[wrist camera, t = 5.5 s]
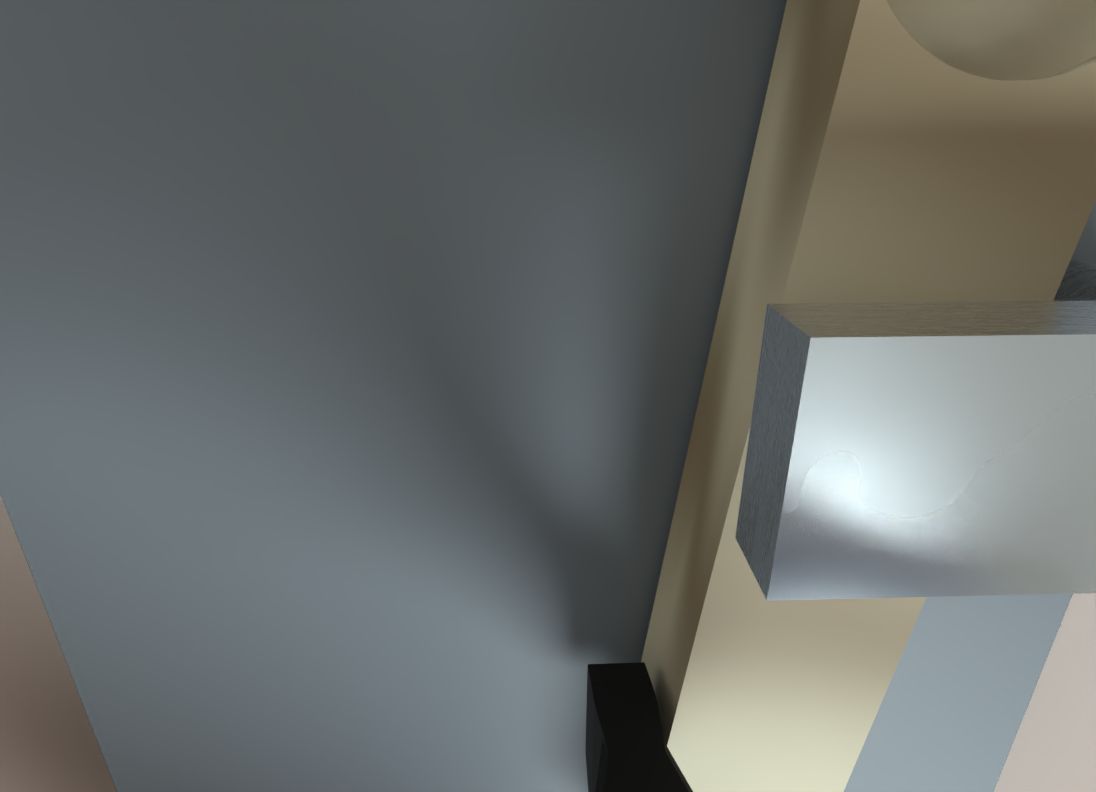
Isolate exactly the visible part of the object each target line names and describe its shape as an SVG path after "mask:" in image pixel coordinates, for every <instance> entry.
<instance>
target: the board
mask: <svg viewBox="0 0 1096 792" xmlns="http://www.w3.org/2000/svg"><path fill="white" fill-rule="evenodd" d="M786 2H787V0H0V494H1V497H2V499H3V502H4V504H5V507H6V509H7V512H8V514H9V517H10V520H11V522H12V525H13V527H14V530H15V532H16V535H17V537H18V540H19V543H20V545H21V548H22V550H23V553H24V555H25V558H26V560H27V563H28V566H29V568H30V571H31V573H32V576H33V578H34V581H35V583H36V586H37V589H38V591H39V594H40V596H41V599H42V601H43V604H44V606H45V609H46V611H47V614H48V617H49V619H50V622H51V624H52V627H53V629H54V632H55V634H56V637H57V640H58V642H59V645H60V647H61V650H62V652H63V655H64V657H65V660H66V663H67V665H68V668H69V670H70V673H71V675H72V678H73V680H74V683H75V686H76V688H77V691H78V693H79V696H80V698H81V701H82V703H83V706H84V709H85V711H86V714H87V716H88V719H89V721H90V724H91V726H92V729H93V732H94V734H95V737H96V739H97V742H98V744H99V747H100V749H101V752H102V755H103V757H104V760H105V762H106V765H107V767H108V770H109V772H110V775H111V778H112V780H113V783H114V785H115V788H116V790H117V792H588V780H587V767H586V753H585V748H586V709H587V670H588V664H608V663H640V662H641V659H642V655H643V650H644V646H645V641H646V637H647V632H648V628H649V623H650V619H651V614H652V610H653V605H654V601H655V596H656V591H657V587H658V582H659V578H660V573H661V569H662V564H663V560H664V555H665V551H666V546H667V542H668V537H669V533H670V528H671V524H672V519H673V514H674V510H675V505H676V501H677V496H678V492H679V487H680V483H681V478H682V474H683V469H684V465H685V460H686V456H687V451H688V447H689V442H690V437H691V433H692V428H693V424H694V419H695V415H696V410H697V406H698V401H699V397H700V392H701V388H702V383H703V379H704V374H705V369H706V365H707V360H708V356H709V351H710V347H711V342H712V338H713V333H714V329H715V324H716V320H717V315H718V311H719V306H720V302H721V297H722V292H723V288H724V283H725V279H726V274H727V270H728V265H729V261H730V256H731V252H732V247H733V243H734V238H735V234H736V229H737V224H738V220H739V215H740V211H741V206H742V202H743V197H744V193H745V188H746V184H747V179H748V175H749V170H750V166H751V161H752V157H753V152H754V147H755V143H756V138H757V134H758V129H759V125H760V120H761V116H762V111H763V107H764V102H765V98H766V93H767V89H768V84H769V79H770V75H771V70H772V66H773V61H774V57H775V52H776V48H777V43H778V39H779V34H780V30H781V25H782V21H783V16H784V12H785V7H786ZM1070 261H1080V262H1085V263H1089V264H1093V265H1096V201H1095V204H1094V206H1093V208H1092V211H1091V213H1090V215H1089V218H1088V220H1087V223H1086V225H1085V227H1084V230H1083V232H1082V234H1081V237H1080V239H1079V241H1078V244H1077V246H1076V248H1075V251H1074V253H1073V255H1072V258H1071V260H1070ZM1072 594H1073V593H1070V594H1027V595H985V596H943V597H926V600H925V602H924V604H923V607H922V609H921V611H920V614H919V616H918V618H917V621H916V623H915V625H914V628H913V630H912V632H911V635H910V637H909V640H908V642H907V644H906V647H905V649H904V651H903V654H902V656H901V658H900V661H899V663H898V665H897V668H896V670H895V672H894V675H893V677H892V679H891V682H890V684H889V686H888V689H887V691H886V693H885V696H884V698H883V700H882V703H881V705H880V707H879V710H878V712H877V714H876V717H875V719H874V722H873V724H872V726H871V729H870V731H869V733H868V736H867V738H866V740H865V743H864V745H863V747H862V750H861V752H860V754H859V757H858V759H857V761H856V764H855V766H854V768H853V771H852V773H851V775H850V778H849V780H848V782H847V785H846V787H845V789H844V792H994V789H995V787H996V784H997V782H998V779H999V777H1000V774H1001V772H1002V769H1003V767H1004V764H1005V762H1006V759H1007V757H1008V754H1009V752H1010V749H1011V747H1012V744H1013V742H1014V739H1015V737H1016V734H1017V732H1018V729H1019V727H1020V724H1021V722H1022V719H1023V717H1024V714H1025V712H1026V709H1027V707H1028V704H1029V702H1030V699H1031V697H1032V694H1033V692H1034V689H1035V687H1036V684H1037V682H1038V679H1039V677H1040V674H1041V672H1042V669H1043V667H1044V664H1045V662H1046V659H1047V657H1048V654H1049V652H1050V649H1051V647H1052V644H1053V642H1054V639H1055V637H1056V634H1057V632H1058V629H1059V627H1060V624H1061V622H1062V619H1063V617H1064V614H1065V612H1066V609H1067V607H1068V604H1069V602H1070V599H1071V597H1072Z"/></svg>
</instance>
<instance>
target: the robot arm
mask: <svg viewBox="0 0 1096 792" xmlns="http://www.w3.org/2000/svg"><path fill="white" fill-rule="evenodd" d="M585 753H586V767H587V780H588V792H693V791H692V789H691V787H690V785H689V784H688V782H687V780H686V778H685V777H684V775H683V773H682V772H681V770H680V768H679V766H678V765H677V763H676V761H675V759H674V758H673V756H672V754H671V753H670V751H669V749H668V747H667V745H666V743H665V741H664V739H663V733H662V726H661V720H660V714H659V708H658V702H657V698H656V695H655V692H654V689H653V685H652V682H651V679H650V677H649V674H648V671H647V668H646V665H645V662H640V663H608V664H588V670H587V709H586V748H585Z"/></svg>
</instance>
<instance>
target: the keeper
mask: <svg viewBox="0 0 1096 792" xmlns="http://www.w3.org/2000/svg"><path fill="white" fill-rule="evenodd" d="M735 538H736V540H737V542H738V544H739V546H740V548H741V550H742V552H743V554H744V556H745V558H746V560H747V562H748V564H749V566H750V568H751V570H752V572H753V574H754V576H755V578H756V580H757V582H758V584H759V586H760V588H761V590H762V592H763V594H764V596H765V598H766V600H767V601H773V600H815V599H858V598H900V597H943V596H985V595H1027V594H1070V593H1096V265H1093V264H1089V263H1085V262H1080V261H1070V262H1069V265H1068V267H1067V269H1066V272H1065V274H1064V276H1063V279H1062V281H1061V283H1060V286H1059V288H1058V290H1057V293H1056V295H1055V297H1054V300H1053V301H992V302H893V303H794V304H767V307H766V315H765V322H764V329H763V337H762V344H761V351H760V359H759V366H758V374H757V381H756V388H755V396H754V403H753V410H752V418H751V425H750V432H749V440H748V447H747V455H746V462H745V469H744V477H743V484H742V491H741V499H740V506H739V513H738V521H737V528H736V535H735Z"/></svg>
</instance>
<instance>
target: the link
mask: <svg viewBox="0 0 1096 792" xmlns="http://www.w3.org/2000/svg"><path fill="white" fill-rule="evenodd" d="M1095 201H1096V0H787V2H786V7H785V12H784V16H783V21H782V25H781V30H780V34H779V39H778V43H777V48H776V52H775V57H774V61H773V66H772V70H771V75H770V79H769V84H768V89H767V93H766V98H765V102H764V107H763V111H762V116H761V120H760V125H759V129H758V134H757V138H756V143H755V147H754V152H753V157H752V161H751V166H750V170H749V175H748V179H747V184H746V188H745V193H744V197H743V202H742V206H741V211H740V215H739V220H738V224H737V229H736V234H735V238H734V243H733V247H732V252H731V256H730V261H729V265H728V270H727V274H726V279H725V283H724V288H723V292H722V297H721V302H720V306H719V311H718V315H717V320H716V324H715V329H714V333H713V338H712V342H711V347H710V351H709V356H708V360H707V365H706V369H705V374H704V379H703V383H702V388H701V392H700V397H699V401H698V406H697V410H696V415H695V419H694V424H693V428H692V433H691V437H690V442H689V447H688V451H687V456H686V460H685V465H684V469H683V474H682V478H681V483H680V487H679V492H678V496H677V501H676V505H675V510H674V514H673V519H672V524H671V528H670V533H669V537H668V542H667V546H666V551H665V555H664V560H663V564H662V569H661V573H660V578H659V582H658V587H657V591H656V596H655V601H654V605H653V610H652V614H651V619H650V623H649V628H648V632H647V637H646V641H645V646H644V650H643V655H642V659H641V662H645V665H646V668H647V671H648V674H649V677H650V679H651V682H652V685H653V689H654V692H655V695H656V698H657V702H658V708H659V714H660V720H661V726H662V733H663V739H664V741H665V743H666V745H667V747H668V749H669V751H670V753H671V754H672V756H673V758H674V759H675V761H676V763H677V765H678V766H679V768H680V770H681V772H682V773H683V775H684V777H685V778H686V780H687V782H688V784H689V785H690V787H691V789H692V791H693V792H844V789H845V787H846V785H847V782H848V780H849V778H850V775H851V773H852V771H853V768H854V766H855V764H856V761H857V759H858V757H859V754H860V752H861V750H862V747H863V745H864V743H865V740H866V738H867V736H868V733H869V731H870V729H871V726H872V724H873V722H874V719H875V717H876V714H877V712H878V710H879V707H880V705H881V703H882V700H883V698H884V696H885V693H886V691H887V689H888V686H889V684H890V682H891V679H892V677H893V675H894V672H895V670H896V668H897V665H898V663H899V661H900V658H901V656H902V654H903V651H904V649H905V647H906V644H907V642H908V640H909V637H910V635H911V632H912V630H913V628H914V625H915V623H916V621H917V618H918V616H919V614H920V611H921V609H922V607H923V604H924V602H925V600H926V597H900V598H858V599H815V600H773V601H767V600H766V598H765V596H764V594H763V592H762V590H761V588H760V586H759V584H758V582H757V580H756V578H755V576H754V574H753V572H752V570H751V568H750V566H749V564H748V562H747V560H746V558H745V556H744V554H743V552H742V550H741V548H740V546H739V544H738V542H737V540H736V538H735V535H736V528H737V521H738V513H739V506H740V499H741V491H742V484H743V477H744V469H745V462H746V455H747V447H748V440H749V432H750V425H751V418H752V410H753V403H754V396H755V388H756V381H757V374H758V366H759V359H760V351H761V344H762V337H763V329H764V322H765V315H766V307H767V304H794V303H893V302H992V301H1053V300H1054V297H1055V295H1056V293H1057V290H1058V288H1059V286H1060V283H1061V281H1062V279H1063V276H1064V274H1065V272H1066V269H1067V267H1068V265H1069V262H1070V260H1071V258H1072V255H1073V253H1074V251H1075V248H1076V246H1077V244H1078V241H1079V239H1080V237H1081V234H1082V232H1083V230H1084V227H1085V225H1086V223H1087V220H1088V218H1089V215H1090V213H1091V211H1092V208H1093V206H1094V204H1095Z"/></svg>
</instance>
